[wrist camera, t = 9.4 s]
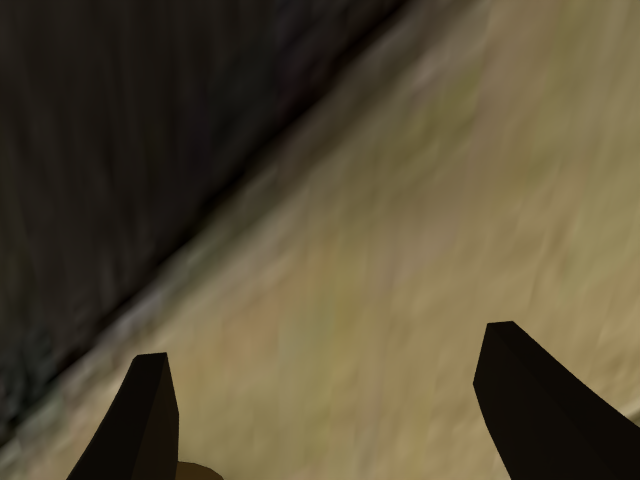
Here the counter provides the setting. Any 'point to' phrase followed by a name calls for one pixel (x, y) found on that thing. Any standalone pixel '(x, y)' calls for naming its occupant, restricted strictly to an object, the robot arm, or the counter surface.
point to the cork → (195, 472)
